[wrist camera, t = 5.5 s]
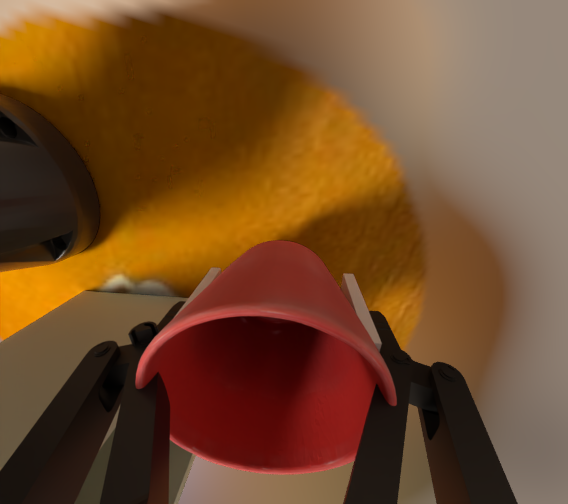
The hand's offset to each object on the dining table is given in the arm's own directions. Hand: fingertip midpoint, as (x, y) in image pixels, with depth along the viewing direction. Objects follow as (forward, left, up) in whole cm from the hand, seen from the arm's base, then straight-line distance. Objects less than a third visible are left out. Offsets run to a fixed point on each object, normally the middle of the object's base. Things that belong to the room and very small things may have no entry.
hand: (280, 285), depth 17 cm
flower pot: (0, 0, 0) cm, 1 cm away
